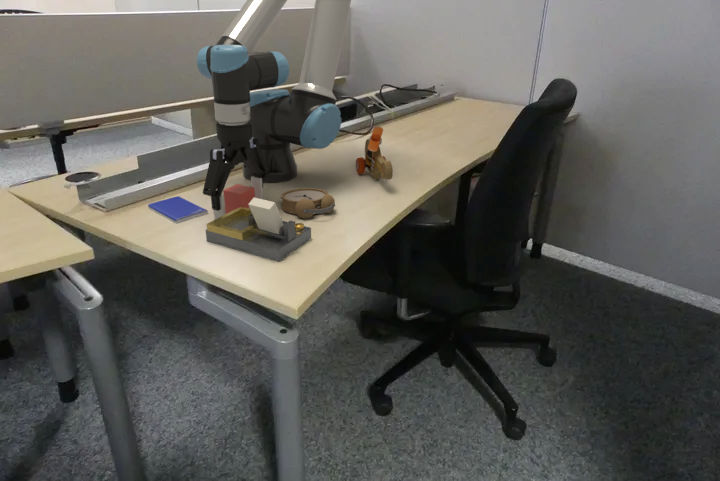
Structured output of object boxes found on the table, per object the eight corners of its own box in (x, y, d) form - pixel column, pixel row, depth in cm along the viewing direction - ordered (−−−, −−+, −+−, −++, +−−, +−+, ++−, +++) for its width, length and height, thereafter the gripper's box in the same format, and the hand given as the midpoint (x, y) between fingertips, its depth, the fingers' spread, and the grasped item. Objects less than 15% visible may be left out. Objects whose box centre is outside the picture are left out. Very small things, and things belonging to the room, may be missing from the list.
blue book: (207, 209, 120) (179, 195, 127) (175, 219, 115) (147, 204, 122) (208, 215, 121) (179, 201, 128) (176, 225, 115) (148, 210, 123)
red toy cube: (238, 207, 125) (237, 183, 122) (255, 211, 123) (254, 187, 120) (225, 214, 121) (223, 190, 118) (242, 218, 119) (240, 194, 116)
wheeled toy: (380, 168, 155) (383, 123, 149) (403, 193, 137) (407, 142, 131) (354, 170, 153) (355, 123, 147) (373, 195, 135) (376, 143, 129)
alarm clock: (312, 185, 132) (344, 193, 120) (314, 204, 134) (346, 214, 122) (272, 193, 126) (302, 202, 114) (275, 212, 128) (304, 224, 116)
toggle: (263, 225, 107) (251, 196, 102) (287, 231, 105) (277, 202, 99) (258, 231, 106) (246, 203, 100) (282, 238, 104) (271, 209, 98)
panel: (243, 220, 117) (241, 195, 115) (311, 238, 110) (310, 212, 108) (206, 240, 108) (203, 213, 105) (278, 261, 101) (277, 233, 98)
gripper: (207, 136, 101) (216, 235, 110) (281, 113, 121) (283, 198, 130) (178, 130, 104) (189, 227, 113) (254, 109, 124) (259, 193, 133)
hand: (239, 212), depth 121 cm, fingers open, 13 cm apart
